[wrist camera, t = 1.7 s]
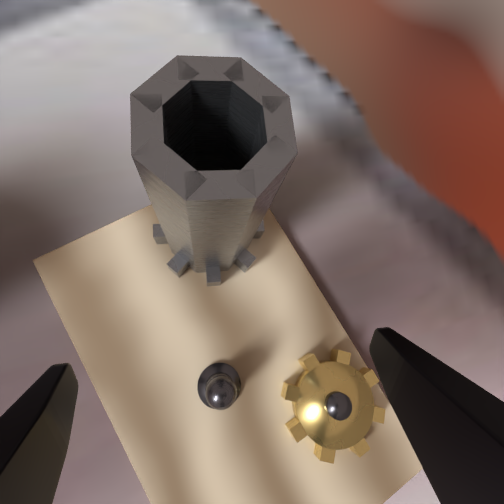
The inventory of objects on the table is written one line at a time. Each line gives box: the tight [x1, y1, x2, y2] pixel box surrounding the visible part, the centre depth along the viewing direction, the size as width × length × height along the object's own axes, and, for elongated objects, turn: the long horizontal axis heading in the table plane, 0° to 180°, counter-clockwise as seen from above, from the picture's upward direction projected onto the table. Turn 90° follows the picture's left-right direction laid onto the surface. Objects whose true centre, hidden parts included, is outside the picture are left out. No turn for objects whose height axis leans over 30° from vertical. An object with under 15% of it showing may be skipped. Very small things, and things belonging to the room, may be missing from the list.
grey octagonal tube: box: [130, 55, 298, 286], centre depth 17 cm, size 7×7×13 cm
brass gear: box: [281, 349, 386, 464], centre depth 21 cm, size 7×7×2 cm
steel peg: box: [197, 362, 241, 410], centre depth 19 cm, size 3×3×4 cm
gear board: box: [33, 204, 423, 504], centre depth 22 cm, size 16×25×1 cm, turn 31°
